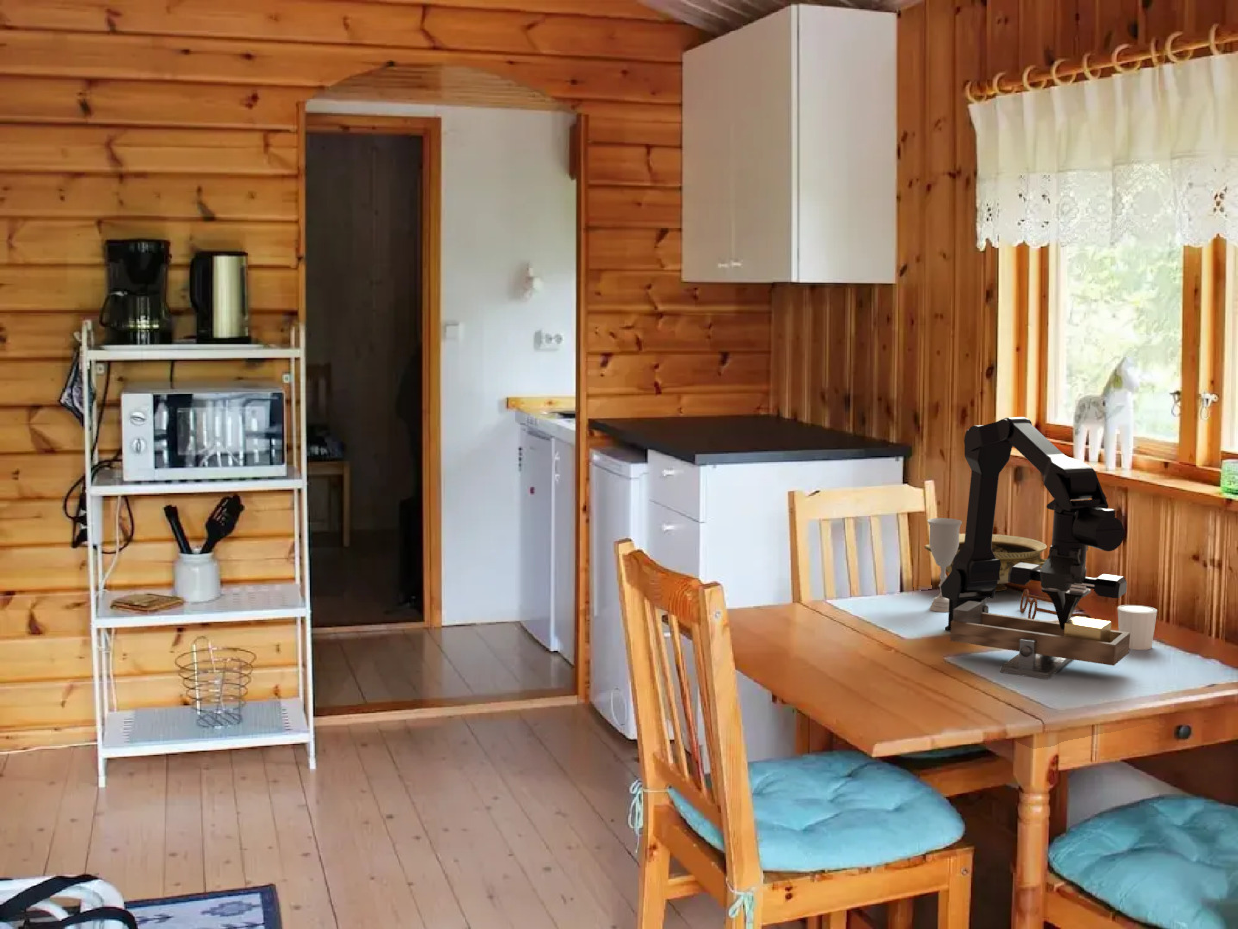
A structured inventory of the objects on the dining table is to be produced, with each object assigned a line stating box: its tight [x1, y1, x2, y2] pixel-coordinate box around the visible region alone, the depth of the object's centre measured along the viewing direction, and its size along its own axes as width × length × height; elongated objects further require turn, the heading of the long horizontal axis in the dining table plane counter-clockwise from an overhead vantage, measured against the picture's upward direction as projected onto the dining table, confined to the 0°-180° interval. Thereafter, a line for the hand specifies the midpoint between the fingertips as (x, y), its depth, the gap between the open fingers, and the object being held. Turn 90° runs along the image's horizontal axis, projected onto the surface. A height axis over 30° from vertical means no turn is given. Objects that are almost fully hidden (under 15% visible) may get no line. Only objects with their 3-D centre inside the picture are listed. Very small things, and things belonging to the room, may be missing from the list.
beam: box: [949, 601, 1130, 667], centre depth 253 cm, size 28×10×6 cm, turn 58°
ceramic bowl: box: [924, 533, 1048, 592], centre depth 315 cm, size 30×24×10 cm
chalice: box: [927, 517, 963, 613], centre depth 294 cm, size 7×7×18 cm
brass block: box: [1064, 616, 1112, 643], centre depth 248 cm, size 6×6×4 cm
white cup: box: [1117, 604, 1158, 651], centre depth 266 cm, size 7×7×7 cm
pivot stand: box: [999, 638, 1073, 680], centre depth 253 cm, size 8×16×6 cm, turn 148°
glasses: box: [1019, 588, 1094, 619], centre depth 289 cm, size 13×13×5 cm
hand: (1063, 629), depth 250 cm, fingers closed
